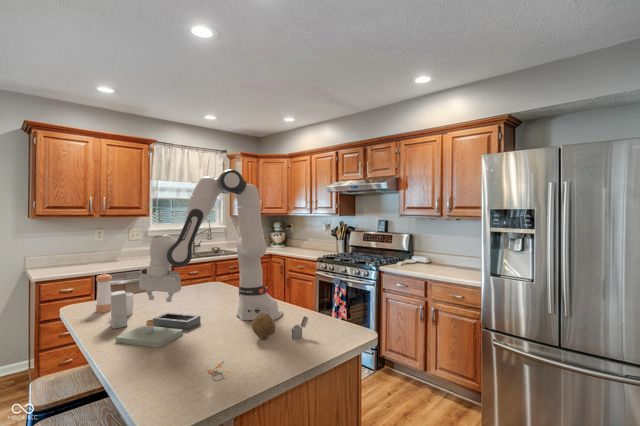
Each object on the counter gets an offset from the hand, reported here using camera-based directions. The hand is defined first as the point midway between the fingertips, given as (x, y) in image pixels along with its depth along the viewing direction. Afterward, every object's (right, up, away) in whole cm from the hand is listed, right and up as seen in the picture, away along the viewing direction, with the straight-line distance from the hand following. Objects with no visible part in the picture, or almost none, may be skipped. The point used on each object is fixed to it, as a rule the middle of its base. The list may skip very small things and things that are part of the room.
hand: (160, 300), depth 156 cm
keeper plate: (+4, -11, -17) cm, 21 cm away
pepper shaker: (-38, -11, +21) cm, 45 cm away
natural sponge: (+50, -11, -18) cm, 54 cm away
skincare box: (-17, -11, -2) cm, 21 cm away
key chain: (+40, -12, -45) cm, 61 cm away
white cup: (-24, -11, +13) cm, 29 cm away
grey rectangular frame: (+8, -10, -2) cm, 14 cm away
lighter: (+65, -11, -17) cm, 67 cm away
